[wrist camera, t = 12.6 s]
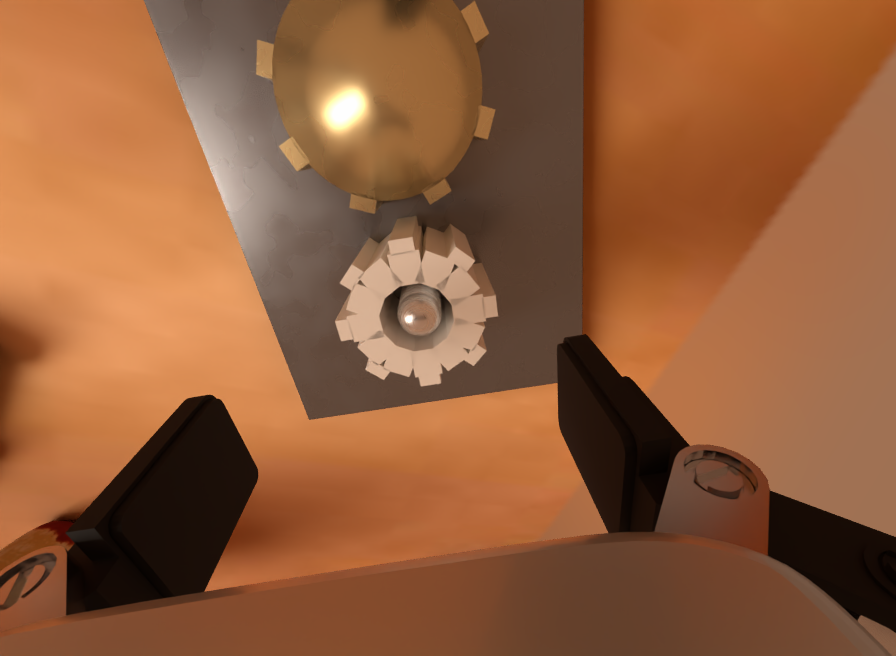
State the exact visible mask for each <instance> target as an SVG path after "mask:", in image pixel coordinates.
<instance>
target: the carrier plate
mask: <svg viewBox="0 0 896 656" xmlns="http://www.w3.org/2000/svg"><path fill="white" fill-rule="evenodd" d="M474 1H475V3H476V5H477V7H478V10H479V12H480V14H481V16H482V18H483V21H484V23H485V25H486V27H487V30H488V32H489V35H488V37H487V38H486V40H485V42H484V44H483V46H482V48H481V50H480V51H479V52H478V56H479V60H480V66H481V73H482V103H481V105H482V106H485V107H489V108H492V109H495V113H494V117H493V121H492V125H491V129H490V133H489V136H488V140H477V139H472V141H471V143H470V145H469V148H468V149H467V151H466V153H465V154H464V156H463V158H462V159H461V161H460V162H459V163H458V165H457V166H456V167H455V168H454V170H453V171H452V172H451V173H450V174H449V175H448V176H447V177H446V178H445V179H446V180H447V182H448V184H449V186H450V188H451V190H452V191H451V192H449V193H448V194H446V195H445V196H443V197H442V198H440V199H438V200H437V201H435V202H434V203H432V204H431V205H430V204H429V202H428V200H427V199H426V197H425V195H424V194H423V193H421V194H418V195H415V196H413V197H409V198H405V199H401V200H391V201H383V203H382V205H381V206H380V208H379V209H378V210H377V211H376V213H375V214H373V213H369V212H365V211H360V210H356V209H352V208H349V206H350V199H351V194H350V193H348V192H346V191H344V190H342V189H340V188H338V187H336V186H335V185H333V184H331V183H330V182H328V181H327V180H326V179H325V178H323V177H322V176H321V175H320V174H318V173H317V172H316V171H315V170H314V169H313V168H311V169H307V170H302V171H296V169H295V168H294V167H293V165H292V164H291V163H290V161H289V160H288V158H287V157H286V156H285V154H284V153H283V152H282V150H281V149H280V147H279V146H280V145H281V144H283V143H284V142H285V141H287V140H288V139H289V138H290V137H289V135H288V133H287V131H286V129H285V127H284V124H283V122H282V119H281V116H280V113H279V111H278V107H277V103H276V99H275V95H274V87H273V81H271V80H269V79H266V78H264V77H261V76H259V75H256V63H257V40H260V41H264V42H267V43H271V44H274V42H275V38H276V33H277V29H278V26H279V24H280V21H281V18H282V15H283V13H284V11H285V9H286V8H287V6H288V4H289V2H290V0H144V2H145V5H146V7H147V10H148V12H149V15H150V17H151V20H152V22H153V25H154V27H155V30H156V32H157V35H158V37H159V40H160V43H161V45H162V48H163V50H164V53H165V55H166V58H167V60H168V63H169V65H170V68H171V70H172V73H173V75H174V78H175V81H176V83H177V86H178V88H179V91H180V93H181V96H182V98H183V101H184V103H185V106H186V108H187V111H188V114H189V116H190V119H191V121H192V124H193V126H194V129H195V131H196V134H197V136H198V139H199V141H200V144H201V146H202V149H203V152H204V154H205V157H206V159H207V162H208V164H209V167H210V169H211V172H212V174H213V177H214V179H215V182H216V184H217V187H218V190H219V192H220V195H221V197H222V200H223V202H224V205H225V207H226V210H227V212H228V215H229V217H230V220H231V223H232V225H233V228H234V230H235V233H236V235H237V238H238V240H239V243H240V245H241V248H242V250H243V253H244V255H245V258H246V261H247V263H248V266H249V268H250V271H251V273H252V276H253V278H254V281H255V283H256V286H257V288H258V291H259V293H260V296H261V299H262V301H263V304H264V306H265V309H266V311H267V314H268V316H269V319H270V321H271V324H272V326H273V329H274V332H275V334H276V337H277V339H278V342H279V344H280V347H281V349H282V352H283V354H284V357H285V359H286V362H287V364H288V367H289V370H290V372H291V375H292V377H293V380H294V382H295V385H296V387H297V390H298V392H299V395H300V397H301V400H302V402H303V405H304V408H305V410H306V413H307V415H308V418H309V420H311V419H318V418H325V417H331V416H338V415H345V414H352V413H358V412H365V411H372V410H378V409H385V408H392V407H398V406H405V405H412V404H419V403H425V402H432V401H439V400H445V399H452V398H459V397H465V396H472V395H479V394H485V393H492V392H499V391H506V390H512V389H519V388H526V387H532V386H539V385H546V384H552V383H558V378H557V345H558V344H561V343H563V340H564V338H565V337H571V336H577V335H582V270H583V75H584V0H453V2H454V3H455V4H456V6H457V7H458V9H459V10H460V11H462V10H463V9H464V8H466V7H467V6H468V5H470V4H471V3H472V2H474ZM411 216H417V221H418V226H421V227H422V233H423V236H424V233H425V230H426V228H427V227H430V228H433V229H435V230H438V231H441V232H443V233H444V231H445V230H446V229H447V227H448V226H449V224H451V225H453V226H454V227H455V228H457V229H458V230H459V231H461V232H462V233H463V234H465V235H466V238H467V241H468V243H469V246H470V249H471V251H472V254H473V256H474V259H475V262H474V263H473V264H477V263H482V265H483V267H484V269H485V272H486V274H487V276H488V279H489V281H490V283H491V286H492V288H493V290H494V292H495V295H496V303H497V312H498V316H496V317H489V318H486V321H484V325H485V328H484V330H483V333H482V335H483V339H484V342H485V346H486V350H487V351H486V352H485V353H484V354H483V356H482V357H481V358H480V359H479V360H478V361H477V363H476V364H475V365H474V366H473V365H471V364H470V363H468V362H466V361H465V360H463V361H462V362H460V363H459V364H457V365H456V366H455V367H453V368H452V369H450V370H449V371H448V370H447V369H446V368H445V367H444V366H443V365H442V373H441V383H440V384H434V385H427V386H421V385H420V381H419V377H415V373H414V369H412V371H411V374H410V376H409V377H407V376H404V375H400V374H397V373H394V372H389V374H388V375H387V376H386V378H385V379H384V380H383V379H381V378H379V377H377V376H376V375H374V374H372V373H370V372H368V371H367V370H365V369H366V366H367V362H368V359H369V358H368V357H367V356H366V355H365V354H364V353H363V352H362V351H361V350H360V349H358V348H357V347H358V344H359V341H358V342H354V340H353V339H352V340H346V341H341V339H340V336H339V333H338V330H337V327H336V323H335V320H336V318H337V316H338V314H339V313H340V311H341V309H342V307H343V305H344V303H345V301H346V299H347V298H348V296H349V294H350V292H351V290H350V289H348V288H347V287H345V286H343V285H342V284H340V282H341V280H342V279H343V277H344V276H345V274H346V272H347V271H348V269H349V268H350V266H351V265H352V263H353V261H354V260H355V258H356V257H357V255H358V254H359V252H360V251H361V249H362V248H363V246H364V245H365V243H366V241H367V240H368V238H369V237H370V238H371V239H373V240H374V241H376V242H377V243H380V242H381V241H382V240H383V239H385V238H386V237H387V236H388V235H389V234H390V233H391V232H392V230H393V228H394V225H395V223H396V221H397V219H399V218H405V217H411ZM393 294H394V295H395V296H396V297H397V298H398V299H399V300H400V301H399V306H398V312H397V316H398V320H399V323H400V325H401V327H402V328H403V329H404V330H405V331H406V332H408V333H410V334H412V335H415V336H424V335H427V334H430V333H432V332H433V331H434V330H435V329H436V328H437V327H438V325H439V324H440V321H441V317H442V309H441V299H443V298H444V295H443V294H442V293H441V292H440V290H438V289H435V288H433V287H430V286H427V285H424V284H421V283H417V284H411V285H405V286H399V287H398V288H397V289H396V290H395V291H393Z"/></svg>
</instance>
